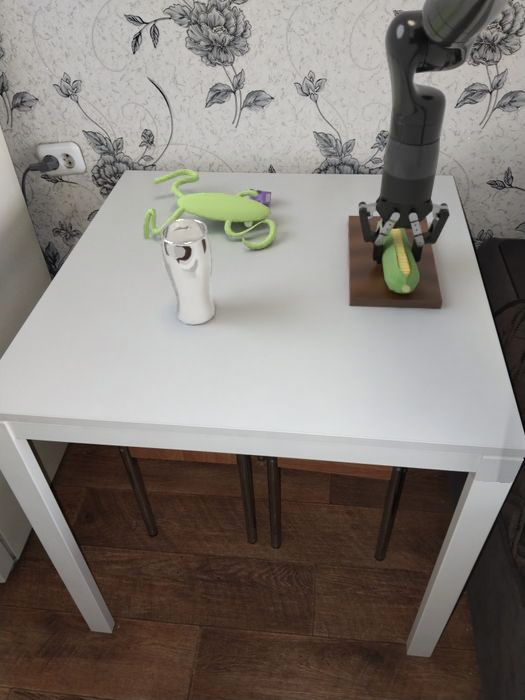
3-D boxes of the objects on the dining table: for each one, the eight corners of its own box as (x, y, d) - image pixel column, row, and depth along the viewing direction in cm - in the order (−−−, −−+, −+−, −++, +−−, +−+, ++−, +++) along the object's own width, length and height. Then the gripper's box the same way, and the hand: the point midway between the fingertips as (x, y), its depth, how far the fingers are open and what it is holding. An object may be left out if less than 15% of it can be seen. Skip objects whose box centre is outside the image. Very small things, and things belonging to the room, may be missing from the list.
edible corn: (386, 302, 90) (390, 278, 87) (372, 230, 104) (375, 207, 101) (420, 302, 90) (425, 278, 86) (402, 229, 104) (405, 207, 101)
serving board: (440, 308, 91) (442, 301, 90) (349, 305, 92) (350, 298, 91) (425, 224, 108) (426, 216, 107) (348, 222, 109) (348, 215, 108)
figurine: (165, 188, 121) (161, 162, 117) (292, 201, 116) (292, 174, 112) (129, 237, 108) (123, 211, 104) (269, 254, 103) (268, 227, 99)
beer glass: (216, 326, 90) (206, 244, 80) (171, 327, 90) (155, 245, 80) (219, 297, 95) (210, 216, 84) (176, 298, 95) (162, 217, 85)
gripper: (360, 177, 83) (351, 274, 95) (464, 178, 81) (443, 277, 93) (359, 152, 88) (351, 247, 100) (457, 153, 87) (437, 249, 99)
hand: (395, 261), depth 97 cm, fingers closed on edible corn, 5 cm apart
